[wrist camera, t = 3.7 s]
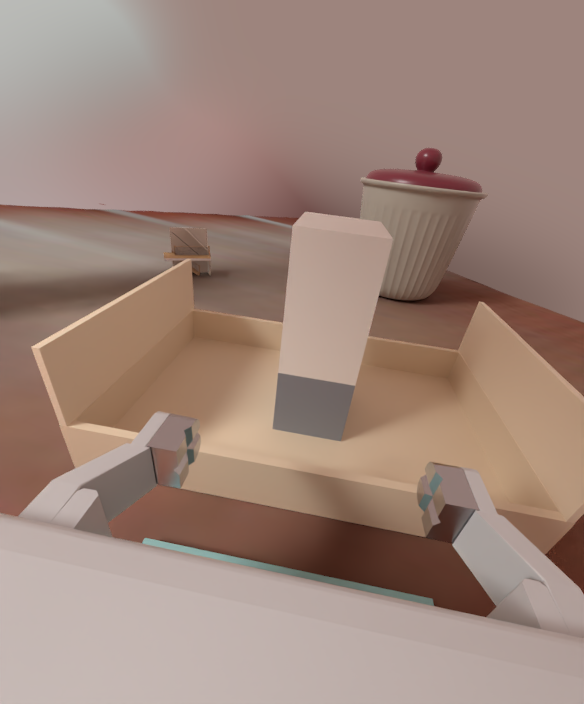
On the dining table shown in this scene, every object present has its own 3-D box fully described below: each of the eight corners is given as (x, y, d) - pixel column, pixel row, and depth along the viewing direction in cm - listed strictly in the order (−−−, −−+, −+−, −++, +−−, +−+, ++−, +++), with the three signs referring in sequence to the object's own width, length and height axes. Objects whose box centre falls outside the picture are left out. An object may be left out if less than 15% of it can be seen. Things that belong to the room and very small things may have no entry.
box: (340, 441, 23) (393, 239, 15) (272, 429, 23) (292, 225, 16) (341, 391, 28) (381, 221, 21) (285, 381, 28) (305, 211, 21)
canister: (319, 281, 56) (341, 137, 45) (380, 269, 66) (409, 151, 56) (409, 320, 44) (468, 141, 34) (464, 299, 55) (522, 159, 44)
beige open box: (539, 560, 17) (644, 453, 13) (75, 467, 19) (30, 347, 15) (449, 380, 32) (484, 302, 28) (191, 337, 34) (186, 258, 30)
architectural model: (212, 281, 51) (211, 233, 47) (167, 282, 49) (161, 231, 45) (209, 274, 54) (207, 228, 50) (165, 275, 51) (160, 226, 47)
